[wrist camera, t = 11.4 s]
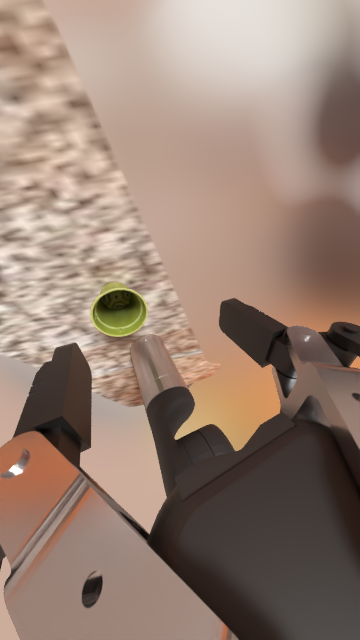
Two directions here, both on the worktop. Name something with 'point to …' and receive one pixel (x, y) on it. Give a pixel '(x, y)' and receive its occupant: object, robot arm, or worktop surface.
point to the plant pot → (118, 310)
